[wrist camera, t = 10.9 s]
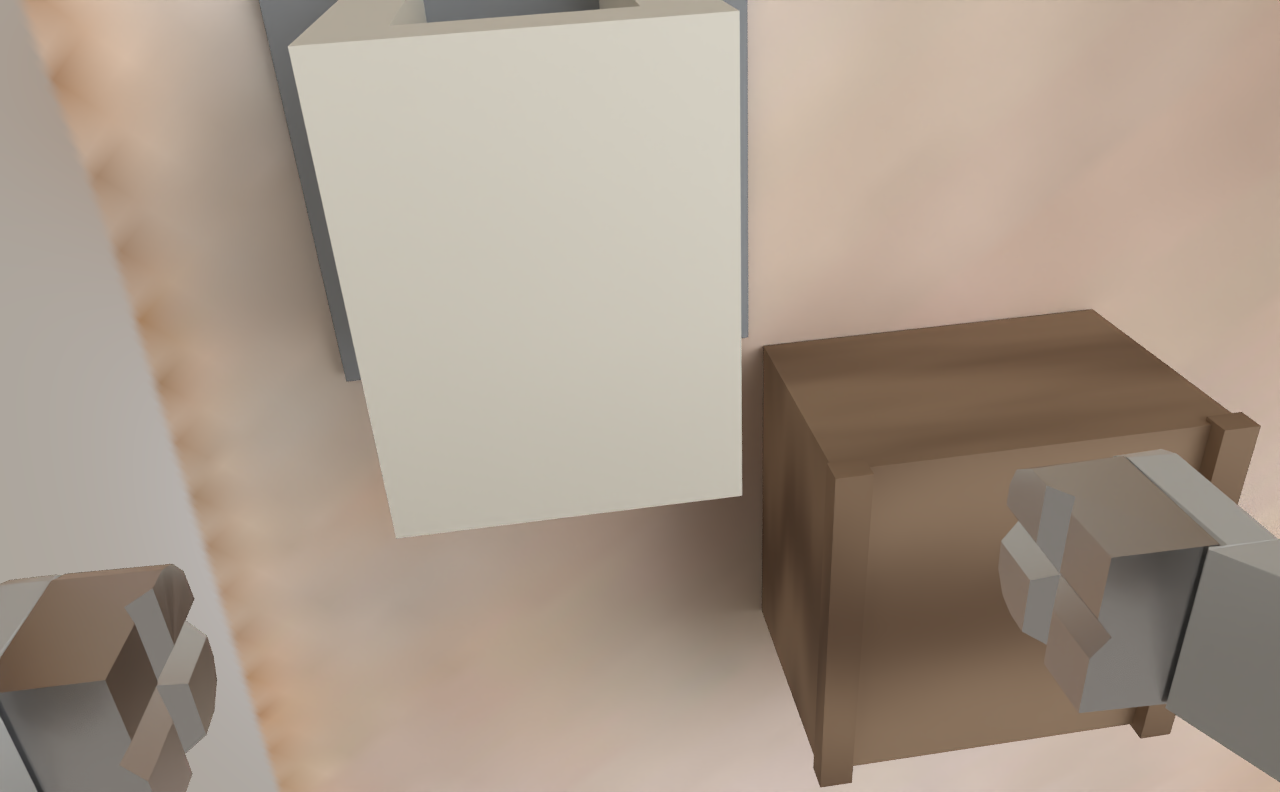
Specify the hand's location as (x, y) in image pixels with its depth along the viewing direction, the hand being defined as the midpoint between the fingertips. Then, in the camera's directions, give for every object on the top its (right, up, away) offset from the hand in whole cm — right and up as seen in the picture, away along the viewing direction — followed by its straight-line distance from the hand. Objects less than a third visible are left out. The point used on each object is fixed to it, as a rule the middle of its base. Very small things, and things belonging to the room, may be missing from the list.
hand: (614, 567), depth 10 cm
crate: (+8, 0, +18) cm, 20 cm away
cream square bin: (-2, +7, +12) cm, 14 cm away
